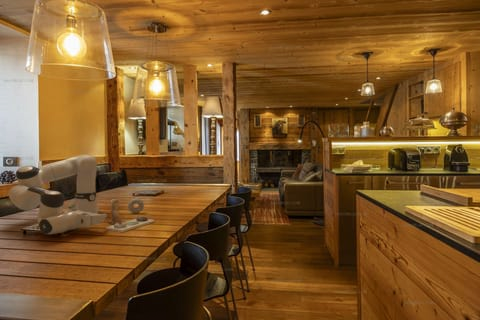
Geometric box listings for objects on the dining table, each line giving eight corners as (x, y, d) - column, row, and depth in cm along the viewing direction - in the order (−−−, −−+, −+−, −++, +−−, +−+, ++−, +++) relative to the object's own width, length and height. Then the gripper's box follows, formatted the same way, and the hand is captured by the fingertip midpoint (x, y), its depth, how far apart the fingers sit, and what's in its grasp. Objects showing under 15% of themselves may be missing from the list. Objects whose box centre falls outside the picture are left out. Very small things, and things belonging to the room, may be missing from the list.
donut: (144, 212, 200) (143, 197, 199) (143, 213, 196) (143, 198, 196) (128, 212, 197) (128, 198, 197) (127, 214, 194) (127, 199, 193)
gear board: (106, 229, 156) (106, 222, 156) (139, 219, 178) (139, 213, 178) (122, 232, 151) (122, 225, 151) (154, 222, 173) (154, 215, 173)
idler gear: (105, 223, 169) (105, 200, 168) (115, 221, 175) (115, 198, 174) (114, 225, 166) (114, 201, 165) (124, 222, 172) (124, 199, 171)
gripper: (63, 223, 153) (87, 217, 165) (89, 228, 144) (113, 221, 156) (63, 211, 153) (87, 206, 165) (89, 215, 144) (113, 210, 156)
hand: (100, 214), depth 161 cm, fingers open, 8 cm apart
